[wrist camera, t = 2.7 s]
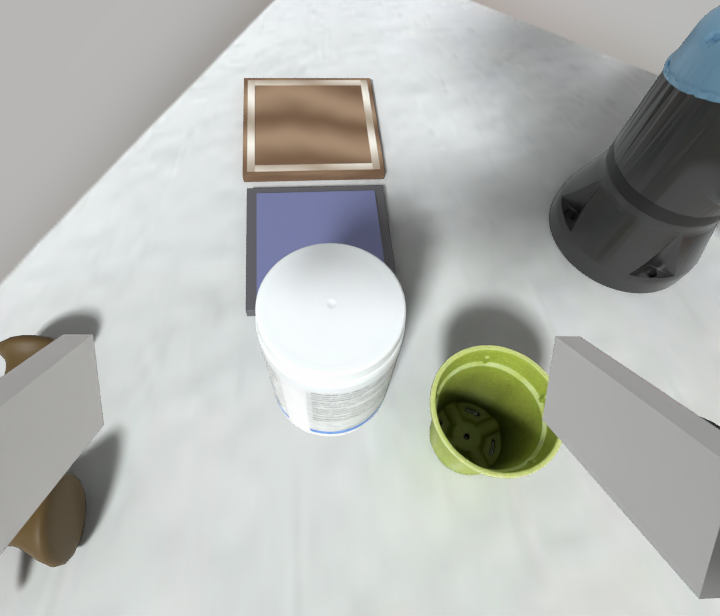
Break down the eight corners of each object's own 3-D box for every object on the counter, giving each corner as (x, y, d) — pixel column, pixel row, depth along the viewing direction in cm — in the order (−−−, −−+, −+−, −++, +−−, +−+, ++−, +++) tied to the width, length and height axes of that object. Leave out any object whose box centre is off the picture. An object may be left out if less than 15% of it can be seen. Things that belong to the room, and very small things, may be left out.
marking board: (383, 178, 54) (384, 171, 53) (243, 181, 53) (242, 174, 52) (369, 85, 61) (370, 77, 60) (245, 85, 60) (244, 77, 59)
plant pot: (425, 369, 44) (448, 327, 37) (528, 404, 44) (573, 368, 36) (396, 472, 40) (414, 449, 32) (509, 512, 39) (556, 499, 32)
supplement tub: (400, 360, 45) (435, 274, 32) (357, 459, 40) (376, 407, 27) (304, 317, 46) (298, 218, 33) (251, 409, 42) (221, 336, 29)
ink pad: (398, 308, 47) (400, 300, 46) (247, 315, 45) (245, 308, 44) (381, 192, 53) (382, 182, 52) (248, 196, 52) (246, 185, 50)
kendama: (114, 354, 44) (74, 623, 34) (-2, 362, 43) (-77, 640, 33) (84, 322, 38) (27, 629, 29) (-49, 331, 37) (-154, 651, 28)
